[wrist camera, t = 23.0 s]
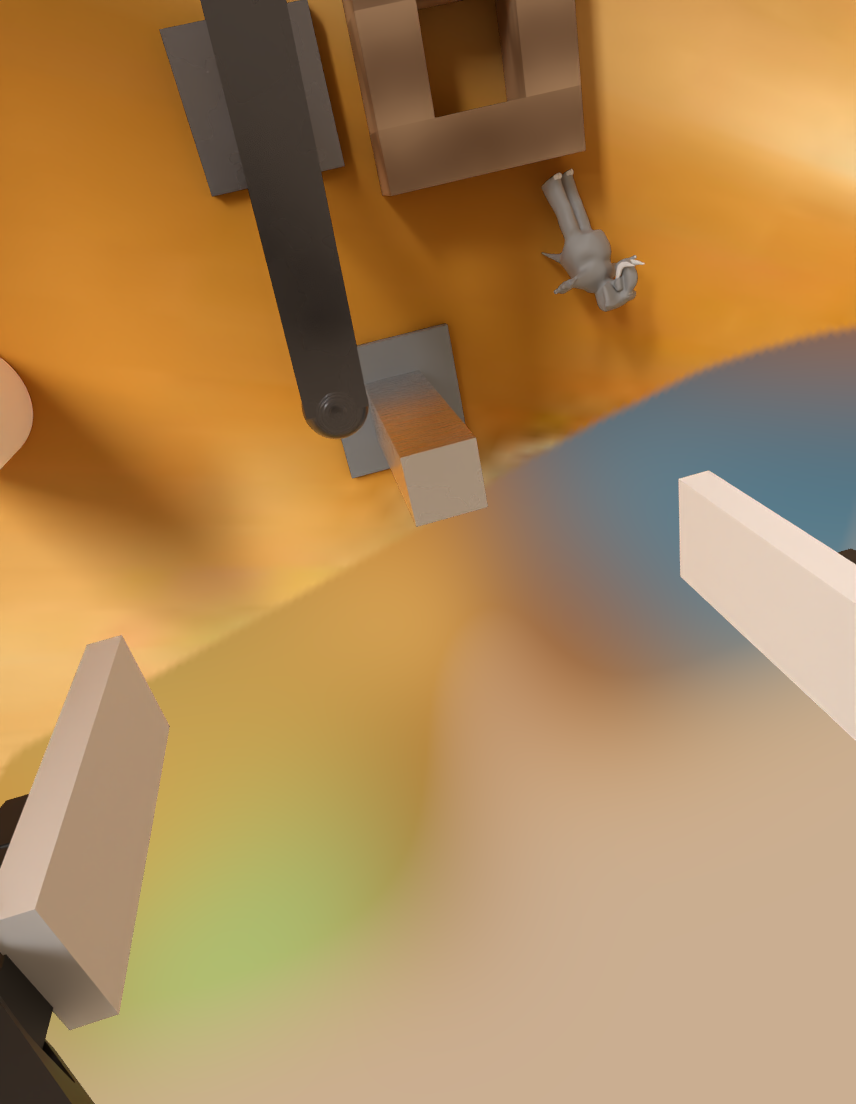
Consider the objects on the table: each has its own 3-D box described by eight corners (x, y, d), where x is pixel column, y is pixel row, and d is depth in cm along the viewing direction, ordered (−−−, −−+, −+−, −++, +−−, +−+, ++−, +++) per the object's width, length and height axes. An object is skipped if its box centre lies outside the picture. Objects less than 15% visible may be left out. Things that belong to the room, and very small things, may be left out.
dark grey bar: (307, 427, 32) (312, 454, 28) (52, -582, 18) (6, -748, 15) (367, 414, 32) (378, 440, 29) (160, -588, 18) (138, -753, 15)
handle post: (161, 33, 37) (95, -66, 23) (306, 3, 38) (332, -113, 23) (213, 196, 41) (184, 201, 27) (343, 166, 42) (385, 155, 27)
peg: (363, 383, 48) (400, 457, 35) (418, 369, 48) (476, 437, 35) (376, 437, 50) (416, 526, 37) (430, 423, 50) (487, 506, 37)
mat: (318, 355, 47) (318, 357, 46) (445, 323, 48) (447, 324, 47) (351, 475, 51) (352, 478, 51) (467, 444, 52) (469, 446, 52)
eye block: (331, -51, 37) (337, -72, 34) (542, -93, 38) (566, -117, 35) (382, 195, 43) (391, 196, 40) (563, 152, 44) (585, 150, 41)
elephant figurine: (629, 144, 45) (682, 276, 46) (557, 196, 49) (607, 315, 51) (550, 153, 39) (614, 306, 40) (475, 212, 43) (536, 348, 44)
